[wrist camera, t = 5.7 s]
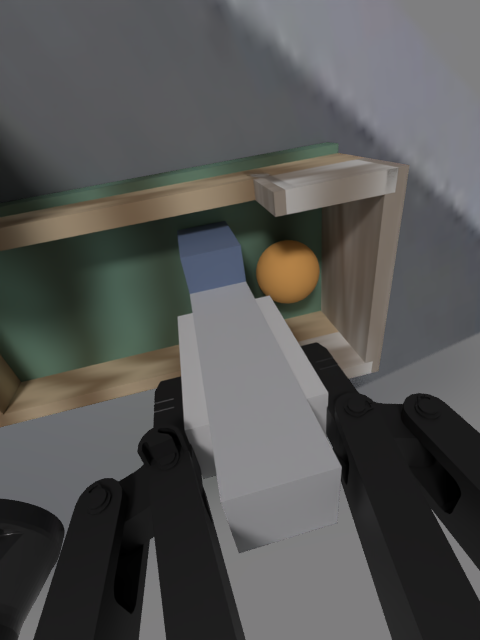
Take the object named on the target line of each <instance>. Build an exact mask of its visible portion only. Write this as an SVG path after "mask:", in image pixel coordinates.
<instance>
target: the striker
mask: <svg viewBox="0 0 480 640" xmlns="http://www.w3.org/2000/svg"><path fill="white" fill-rule="evenodd" d="M177 235H178V244H179V252H180V259H181V263H182V267H183V270H184V274H185V278H186V282H187V285H188V289H189V293H190V299H191V305H192V312H193V319H194V326H195V332H196V339H197V346H198V352H199V359H200V366H201V373H202V379H203V386H204V393H205V399H206V406H207V413H208V420H209V426H210V433H211V440H212V446H213V453H214V460H215V467H216V473H217V480H218V486H219V493H220V499H221V504H222V507H223V510H224V512H225V515H226V518H227V521H228V524H229V526H230V529H231V532H232V535H233V537H234V540H235V543H236V546H237V548H238V552H239V553H241V552H245V551H248V550H251V549H255V548H257V547H261V546H264V545H268V544H271V543H274V542H277V541H281V540H284V539H287V538H290V537H294V536H297V535H300V534H303V533H306V532H310V531H313V530H316V529H320V528H323V527H326V526H329V525H333V524H336V523H337V520H338V508H339V495H340V481H341V469H342V467H341V465H340V463H339V461H338V459H337V457H336V455H335V453H334V451H333V449H332V447H331V445H330V443H329V442H328V440H327V438H326V436H325V434H324V432H323V430H322V428H321V426H320V424H319V422H318V420H317V418H316V416H315V414H314V412H313V410H312V409H311V407H310V405H309V403H308V401H307V399H306V397H305V395H304V393H303V391H302V389H301V387H300V385H299V383H298V381H297V379H296V378H295V376H294V374H293V372H292V370H291V368H290V366H289V364H288V362H287V360H286V358H285V356H284V354H283V352H282V350H281V348H280V347H279V345H278V343H277V341H276V339H275V337H274V335H273V333H272V331H271V329H270V327H269V325H268V323H267V321H266V319H265V317H264V316H263V314H262V312H261V310H260V308H259V306H258V304H257V302H256V300H255V298H254V296H253V294H252V292H251V290H250V288H249V286H248V285H247V283H246V278H245V272H244V265H243V258H242V251H241V245H240V243H239V242H238V240H237V239H236V237H235V235H234V234H233V232H232V231H231V229H230V227H229V226H228V224H227V223H226V221H222V222H217V223H212V224H207V225H202V226H197V227H192V228H187V229H183V230H178V231H177Z"/></svg>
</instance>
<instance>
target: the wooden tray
mask: <svg viewBox="0 0 480 640" xmlns="http://www.w3.org/2000/svg"><path fill="white" fill-rule="evenodd" d="M408 171H409V165H405V164H399V163H393V162H387V161H382V160H376V159H370V158H364V157H358V156H352V155H346V154H341V153H338V143H329V142H326V143H321V144H315V145H310V146H305V147H299V148H294V149H288V150H283V151H278V152H272V153H267V154H262V155H256V156H251V157H246V158H240V159H235V160H229V161H224V162H219V163H213V164H208V165H203V166H197V167H192V168H186V169H181V170H176V171H170V172H165V173H160V174H154V175H149V176H143V177H138V178H133V179H127V180H122V181H117V182H111V183H106V184H101V185H95V186H90V187H84V188H79V189H74V190H68V191H63V192H58V193H52V194H47V195H41V196H36V197H31V198H25V199H20V200H15V201H9V202H4V203H0V427H3V426H7V425H11V424H15V423H19V422H23V421H27V420H31V419H35V418H39V417H43V416H47V415H51V414H55V413H59V412H63V411H67V410H71V409H75V408H79V407H83V406H87V405H91V404H95V403H99V402H103V401H107V400H111V399H115V398H119V397H123V396H127V395H131V394H135V393H139V392H143V391H147V390H151V389H155V388H157V387H158V385H159V383H160V381H164V380H168V379H172V378H176V377H180V376H181V365H180V349H179V332H178V316H182V315H186V314H191V313H193V312H192V305H191V299H190V293H189V289H188V285H187V282H186V278H185V274H184V270H183V267H182V263H181V259H180V252H179V244H178V235H177V231H178V230H183V229H187V228H192V227H197V226H202V225H207V224H212V223H217V222H222V221H226V223H227V224H228V226H229V227H230V229H231V231H232V232H233V234H234V235H235V237H236V239H237V240H238V242H239V243H240V245H241V251H242V258H243V265H244V272H245V278H246V283H247V285H248V286H249V288H250V290H251V292H252V294H253V296H254V298H255V299H256V298H261V297H265V296H266V295H265V294H264V293H263V292H262V290H261V289H260V287H259V285H258V282H257V278H256V267H257V263H258V260H259V258H260V256H261V255H262V253H263V252H264V251H265V250H266V249H267V248H268V247H269V246H271V245H272V244H274V243H276V242H279V241H284V240H293V241H298V242H301V243H303V244H305V245H306V246H307V247H309V248H310V249H311V250H312V251H313V253H314V254H315V256H316V258H317V260H318V263H319V271H320V273H319V279H318V282H317V285H316V287H315V288H314V290H313V291H312V292H311V293H310V294H309V295H308V296H307V297H306V298H304V299H303V300H301V301H298V302H295V303H289V304H287V303H279V302H276V301H274V300H273V302H274V303H275V305H276V307H277V308H278V310H279V312H280V313H281V315H282V317H283V318H284V320H285V322H286V323H287V325H288V327H289V328H290V330H291V332H292V333H293V335H294V337H295V338H296V340H297V342H298V343H299V345H300V346H303V345H307V344H311V343H315V342H317V343H319V344H321V345H322V346H324V347H325V348H327V349H328V351H329V352H330V354H331V355H332V356H333V359H335V361H336V362H337V363H338V366H340V368H341V369H342V370H343V372H344V373H345V375H346V376H347V378H348V379H350V378H354V377H357V376H361V375H365V374H369V373H373V372H376V371H378V370H379V364H380V357H381V350H382V344H383V337H384V330H385V324H386V317H387V311H388V304H389V297H390V291H391V284H392V277H393V271H394V264H395V258H396V251H397V244H398V238H399V231H400V224H401V218H402V211H403V204H404V198H405V191H406V185H407V178H408Z"/></svg>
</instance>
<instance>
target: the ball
mask: <svg viewBox="0 0 480 640" xmlns="http://www.w3.org/2000/svg"><path fill="white" fill-rule="evenodd" d="M319 273H320V271H319V263H318V260H317V258H316V256H315V254H314V253H313V251H312V250H311V249H310V248H309V247H307V246H306V245H305V244H303V243H301V242H298V241H293V240H284V241H279V242H276V243H274V244H272V245H271V246H269V247H268V248H267V249H266V250H265V251H264V252H263V253H262V255H261V256H260V258H259V260H258V263H257V267H256V278H257V282H258V285H259V287H260V289H261V290H262V292H263V293H264V294H265V295H266V296H270V297H271V298H272V300H274V301H276V302H279V303H287V304H289V303H295V302H298V301H301V300H303V299H304V298H306V297H307V296H308V295H309V294H310V293H311V292H312V291H313V290H314V288H315V287H316V285H317V282H318V279H319Z"/></svg>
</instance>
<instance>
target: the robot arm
mask: <svg viewBox="0 0 480 640" xmlns="http://www.w3.org/2000/svg"><path fill="white" fill-rule="evenodd" d="M255 300H256V302H257V304H258V306H259V308H260V310H261V312H262V314H263V316H264V317H265V319H266V321H267V323H268V325H269V327H270V329H271V331H272V333H273V335H274V337H275V339H276V341H277V343H278V345H279V347H280V348H281V350H282V352H283V354H284V356H285V358H286V360H287V362H288V364H289V366H290V368H291V370H292V372H293V374H294V376H295V378H296V379H297V381H298V383H299V385H300V387H301V389H302V391H303V393H304V395H305V397H306V399H307V401H308V403H309V405H310V407H311V409H312V410H313V412H314V414H315V416H316V418H317V420H318V422H319V424H320V426H321V428H322V430H323V432H324V434H325V436H326V438H327V437H328V438H329V440H330V442H331V444H332V446H333V451H334V453H335V455H336V457H337V459H338V461H339V463H340V465H341V467H342V469H341V482H342V485H343V489H344V492H345V495H346V498H347V501H348V504H349V507H350V510H351V513H352V517H353V519H354V523H355V526H356V529H357V532H358V535H359V538H360V541H361V544H362V548H363V551H364V554H365V557H366V560H367V563H368V566H369V569H370V572H371V575H372V578H373V582H374V585H375V588H376V591H377V594H378V597H379V600H380V603H381V606H382V609H383V613H384V616H385V619H386V622H387V625H388V628H389V631H390V634H391V637H392V640H480V601H479V599H478V597H477V595H476V593H475V591H474V590H473V588H472V586H471V584H470V582H469V580H468V578H467V576H466V575H465V572H464V570H463V569H462V567H461V565H460V563H459V561H458V559H457V557H456V556H455V553H454V552H453V550H452V548H451V546H450V544H449V542H448V540H447V538H446V536H445V534H444V533H443V531H442V529H441V527H440V525H439V523H438V521H437V519H436V517H435V516H434V514H433V512H432V510H433V511H434V513H435V514H436V515H437V516H438V518H439V519H440V520H441V522H442V523H443V524H444V525H445V527H446V528H447V529H448V531H449V532H450V533H451V534H452V536H453V537H454V538H455V539H456V541H457V542H458V543H459V545H460V546H461V547H462V548H463V550H464V551H465V552H466V554H467V555H468V556H469V557H470V558H471V560H472V561H473V562H474V564H475V565H476V566H477V568H478V569H479V570H480V433H479V432H478V431H477V430H475V429H474V428H473V427H472V426H471V425H470V424H468V423H467V422H466V421H465V420H464V419H463V418H462V417H461V416H460V415H458V414H457V413H456V412H455V411H453V409H451V408H450V407H449V406H448V405H447V404H446V403H445V402H443V401H442V400H440V399H439V398H437V397H434V396H431V395H428V394H421V393H418V394H412V395H410V396H409V397H407V398H406V399H405V401H404V403H403V404H382V403H376V402H373V401H372V400H371V399H370V398H368V397H367V396H365V395H362V394H359V393H358V391H357V390H356V389H355V387H354V386H353V385H352V383H351V382H350V380H349V379H348V378H347V376H346V375H345V373H344V372H343V370H342V369H341V368H340V366H338V363H337V362H336V361H335V359H333V356H332V355H331V354H330V352H329V351H328V349H327V348H325V347H324V346H322V345H321V344H319V343H317V342H315V343H311V344H307V345H303V346H300V345H299V343H298V342H297V340H296V338H295V337H294V335H293V333H292V332H291V330H290V328H289V327H288V325H287V323H286V322H285V320H284V318H283V317H282V315H281V313H280V312H279V310H278V308H277V307H276V305H275V303H274V302H273V300H272V298H271V297H270V296H265V297H261V298H256V299H255ZM178 332H179V349H180V365H181V376H180V377H176V378H172V379H168V380H164V381H160V383H159V385H158V387H157V389H156V391H155V405H154V428H152V429H151V430H149V431H148V432H147V433H146V434H145V435H144V436H143V437H142V439H141V441H140V442H139V445H138V454H139V456H140V457H141V459H142V461H143V463H144V465H143V466H142V467H141V468H139V469H138V470H137V471H136V472H134V473H132V474H130V475H129V476H127V477H126V478H124V479H122V480H121V481H119V482H118V481H116V480H115V479H113V478H104V479H101V480H99V481H96V482H95V483H93V484H92V485H90V486H89V487H87V488H86V490H85V491H84V492H83V493H82V494H81V496H80V497H79V499H78V501H77V503H76V506H75V509H74V512H73V515H72V518H71V521H70V524H69V528H68V531H67V534H66V538H65V540H64V544H63V547H62V550H61V546H62V542H63V538H64V527H63V524H62V523H61V521H60V520H59V519H58V518H57V517H56V516H55V515H53V514H52V513H50V512H49V511H47V510H45V509H43V508H41V507H38V506H35V505H32V504H29V503H24V502H20V501H15V500H8V499H0V640H18V637H19V634H20V630H21V627H22V625H23V623H24V621H25V619H26V617H27V615H28V613H29V611H30V610H31V608H32V606H33V604H34V602H35V601H36V599H37V597H38V595H39V593H40V591H41V589H42V587H43V585H44V583H45V581H46V580H47V578H48V575H49V574H50V572H51V570H52V568H53V567H54V565H55V564H56V562H57V560H58V557H59V560H58V563H57V566H56V569H55V573H54V576H53V579H52V582H51V585H50V588H49V592H48V595H47V598H46V601H45V604H44V608H43V611H42V614H41V617H40V620H39V623H38V627H37V630H36V633H35V636H34V639H33V640H139V631H140V622H141V613H142V604H143V596H144V587H145V577H146V569H147V559H148V551H149V542H150V539H151V538H153V537H155V546H156V555H157V563H158V572H159V580H160V589H161V598H162V606H163V615H164V624H165V632H166V640H245V636H244V632H243V629H242V625H241V621H240V618H239V614H238V610H237V607H236V603H235V599H234V596H233V592H232V588H231V585H230V581H229V577H228V574H227V570H226V566H225V563H224V559H223V556H222V552H221V548H220V544H219V541H218V537H217V533H216V530H215V526H214V522H213V519H212V515H211V511H210V508H209V504H208V500H207V497H206V493H205V491H204V488H203V485H202V476H203V479H205V478H209V477H213V476H216V475H217V473H216V467H215V460H214V453H213V446H212V440H211V433H210V426H209V420H208V413H207V406H206V399H205V393H204V386H203V379H202V373H201V366H200V359H199V352H198V346H197V339H196V332H195V326H194V319H193V313H191V314H186V315H182V316H178ZM201 474H202V475H201ZM431 509H432V510H431ZM60 550H61V553H60ZM59 554H60V556H59Z"/></svg>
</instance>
